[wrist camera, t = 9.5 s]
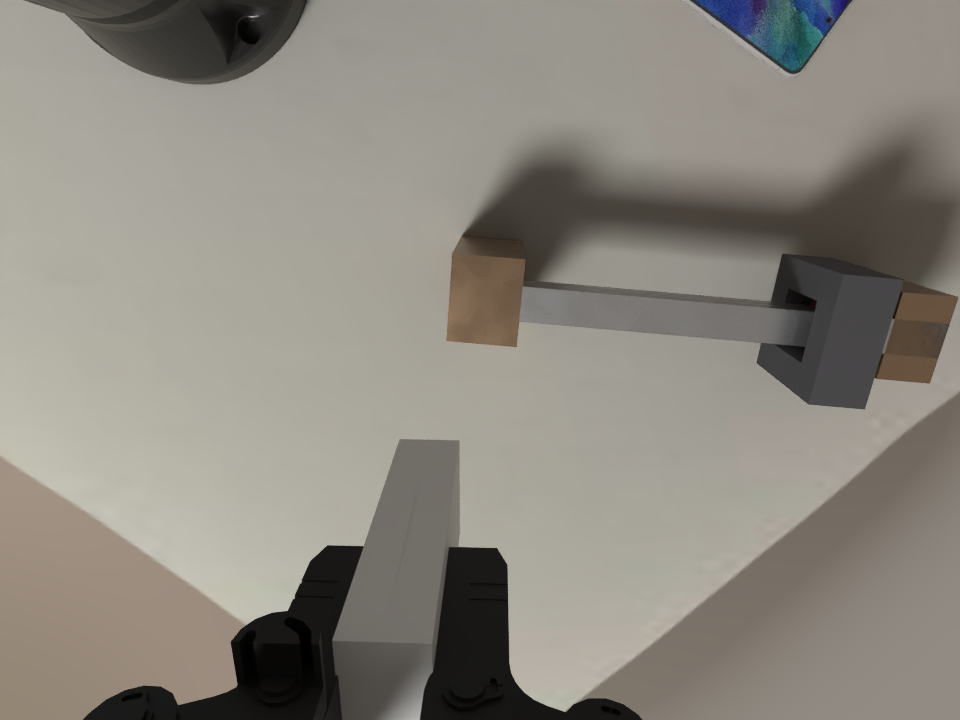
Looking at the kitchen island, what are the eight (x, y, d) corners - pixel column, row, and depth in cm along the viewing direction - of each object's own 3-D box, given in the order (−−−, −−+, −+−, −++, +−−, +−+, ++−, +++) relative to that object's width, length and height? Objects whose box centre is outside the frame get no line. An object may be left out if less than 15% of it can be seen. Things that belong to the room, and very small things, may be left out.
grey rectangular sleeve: (782, 253, 37) (843, 274, 30) (831, 258, 37) (904, 279, 30) (756, 362, 39) (808, 404, 33) (803, 367, 39) (864, 409, 32)
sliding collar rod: (461, 235, 41) (452, 254, 33) (873, 271, 41) (962, 298, 33) (456, 308, 42) (446, 342, 34) (852, 343, 42) (933, 385, 34)
